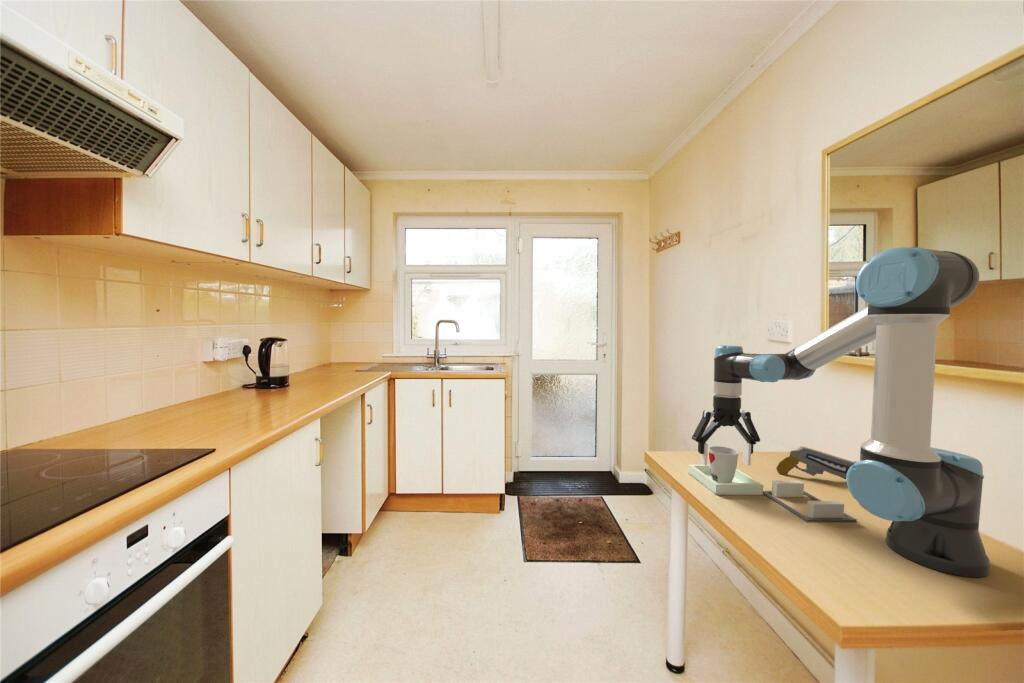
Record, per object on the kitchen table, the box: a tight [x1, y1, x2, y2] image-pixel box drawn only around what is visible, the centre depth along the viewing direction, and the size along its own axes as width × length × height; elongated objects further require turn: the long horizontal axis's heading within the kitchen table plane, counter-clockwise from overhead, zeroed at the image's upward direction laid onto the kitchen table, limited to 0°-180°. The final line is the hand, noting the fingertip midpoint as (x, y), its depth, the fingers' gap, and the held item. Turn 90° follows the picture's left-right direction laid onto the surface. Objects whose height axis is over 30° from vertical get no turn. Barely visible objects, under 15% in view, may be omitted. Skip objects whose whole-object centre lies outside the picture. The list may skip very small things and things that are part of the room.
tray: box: [688, 464, 764, 496], centre depth 121 cm, size 16×14×3 cm
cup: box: [708, 445, 739, 483], centre depth 121 cm, size 8×8×10 cm
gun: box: [775, 445, 857, 480], centre depth 126 cm, size 3×25×15 cm, turn 69°
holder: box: [763, 480, 857, 523], centre depth 107 cm, size 17×13×4 cm
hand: (725, 464), depth 121 cm, fingers open, 13 cm apart
